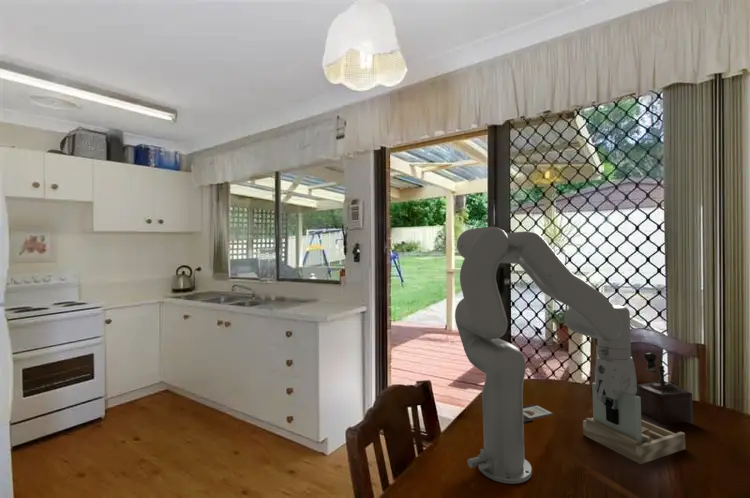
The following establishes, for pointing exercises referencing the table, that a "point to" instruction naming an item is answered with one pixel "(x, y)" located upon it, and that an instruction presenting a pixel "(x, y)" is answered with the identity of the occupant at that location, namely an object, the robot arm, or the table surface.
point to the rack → (636, 441)
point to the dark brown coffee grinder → (664, 397)
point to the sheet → (621, 414)
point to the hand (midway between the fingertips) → (616, 420)
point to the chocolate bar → (534, 413)
